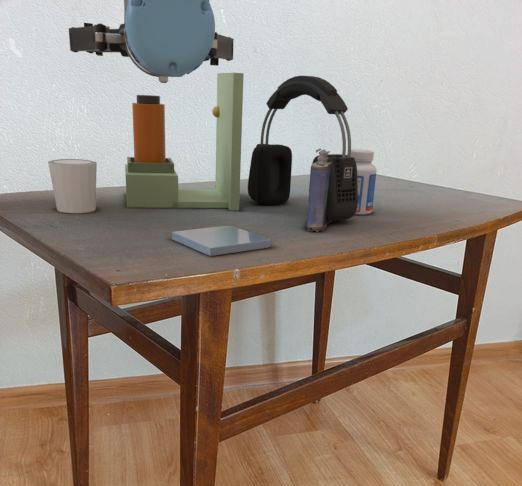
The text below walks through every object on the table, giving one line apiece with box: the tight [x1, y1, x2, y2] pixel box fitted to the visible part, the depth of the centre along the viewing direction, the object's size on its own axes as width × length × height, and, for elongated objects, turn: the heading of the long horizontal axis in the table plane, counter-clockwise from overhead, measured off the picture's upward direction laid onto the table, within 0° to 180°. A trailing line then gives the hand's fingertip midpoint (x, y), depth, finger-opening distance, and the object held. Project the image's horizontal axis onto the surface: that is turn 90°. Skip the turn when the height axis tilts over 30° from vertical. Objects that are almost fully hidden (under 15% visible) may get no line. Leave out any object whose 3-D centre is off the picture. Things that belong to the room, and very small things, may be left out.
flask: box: [305, 148, 332, 233], centre depth 85 cm, size 9×3×11 cm, turn 163°
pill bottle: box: [351, 148, 377, 216], centre depth 96 cm, size 6×5×10 cm
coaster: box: [171, 224, 272, 257], centre depth 75 cm, size 9×9×1 cm
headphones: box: [247, 75, 358, 222], centre depth 92 cm, size 22×6×20 cm, turn 36°
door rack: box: [124, 72, 245, 212], centre depth 96 cm, size 18×16×20 cm
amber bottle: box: [131, 94, 167, 163], centre depth 94 cm, size 5×5×11 cm
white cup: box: [47, 158, 98, 214], centre depth 88 cm, size 7×7×7 cm
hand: (150, 47), depth 81 cm, fingers open, 13 cm apart
